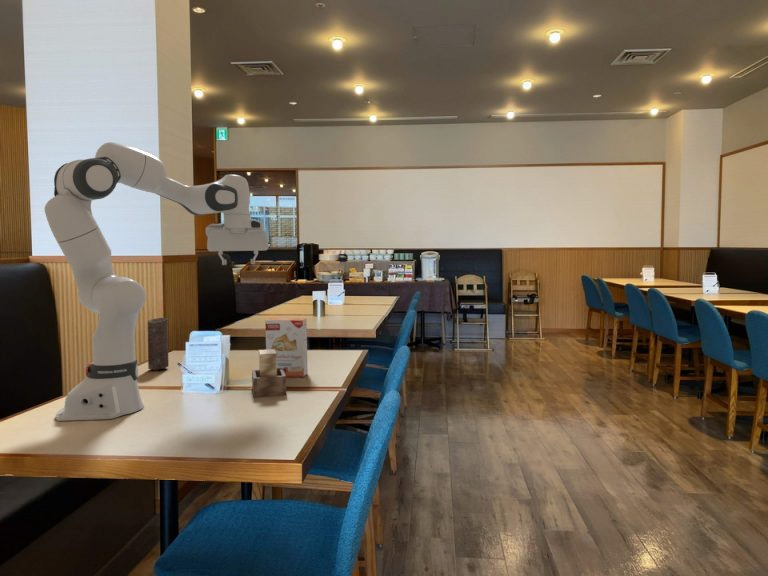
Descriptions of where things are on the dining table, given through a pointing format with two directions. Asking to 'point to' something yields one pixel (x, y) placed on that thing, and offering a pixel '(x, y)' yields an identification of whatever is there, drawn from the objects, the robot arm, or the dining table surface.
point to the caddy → (269, 384)
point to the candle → (157, 344)
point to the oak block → (267, 363)
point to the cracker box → (288, 344)
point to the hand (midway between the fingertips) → (238, 264)
